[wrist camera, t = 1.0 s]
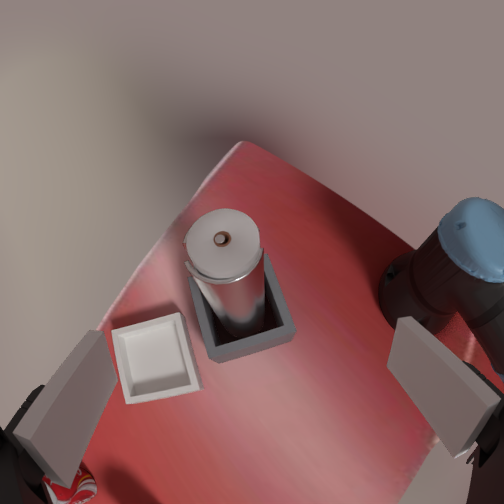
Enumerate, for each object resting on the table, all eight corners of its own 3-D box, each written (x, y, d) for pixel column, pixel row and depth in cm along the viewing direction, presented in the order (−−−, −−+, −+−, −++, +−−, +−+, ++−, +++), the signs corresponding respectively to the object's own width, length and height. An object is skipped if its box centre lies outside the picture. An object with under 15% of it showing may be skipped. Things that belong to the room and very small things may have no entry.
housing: (266, 273, 47) (266, 245, 38) (291, 340, 42) (297, 328, 33) (199, 293, 46) (184, 270, 37) (218, 363, 41) (206, 357, 32)
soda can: (99, 472, 31) (58, 486, 21) (101, 503, 28) (63, 521, 17) (68, 459, 32) (25, 467, 21) (70, 489, 29) (30, 501, 18)
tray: (184, 316, 44) (179, 311, 41) (204, 389, 39) (199, 389, 36) (119, 334, 43) (111, 330, 40) (134, 403, 38) (126, 404, 35)
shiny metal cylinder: (232, 293, 46) (199, 195, 23) (270, 306, 44) (274, 215, 22) (216, 330, 43) (163, 263, 21) (256, 344, 42) (245, 291, 19)
